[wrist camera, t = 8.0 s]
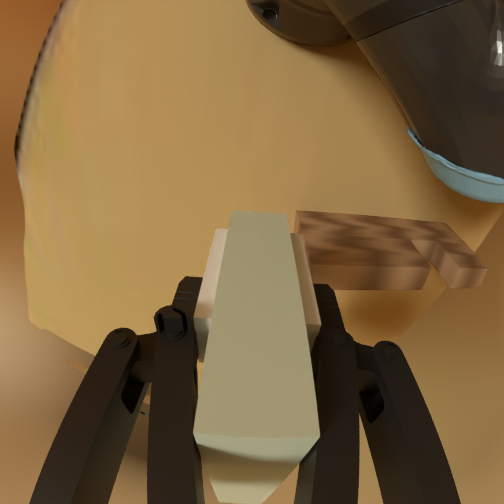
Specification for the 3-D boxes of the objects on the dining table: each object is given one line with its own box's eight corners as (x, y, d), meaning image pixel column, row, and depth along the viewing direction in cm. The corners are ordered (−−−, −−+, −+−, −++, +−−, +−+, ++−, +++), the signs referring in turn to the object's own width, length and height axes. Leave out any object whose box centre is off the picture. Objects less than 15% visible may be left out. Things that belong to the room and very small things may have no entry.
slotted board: (293, 231, 38) (306, 289, 28) (296, 210, 37) (310, 264, 27) (439, 240, 38) (479, 287, 28) (445, 223, 37) (488, 268, 27)
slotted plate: (231, 210, 16) (192, 432, 6) (286, 214, 16) (320, 436, 6) (228, 376, 24) (218, 501, 14) (262, 377, 24) (261, 503, 14)
